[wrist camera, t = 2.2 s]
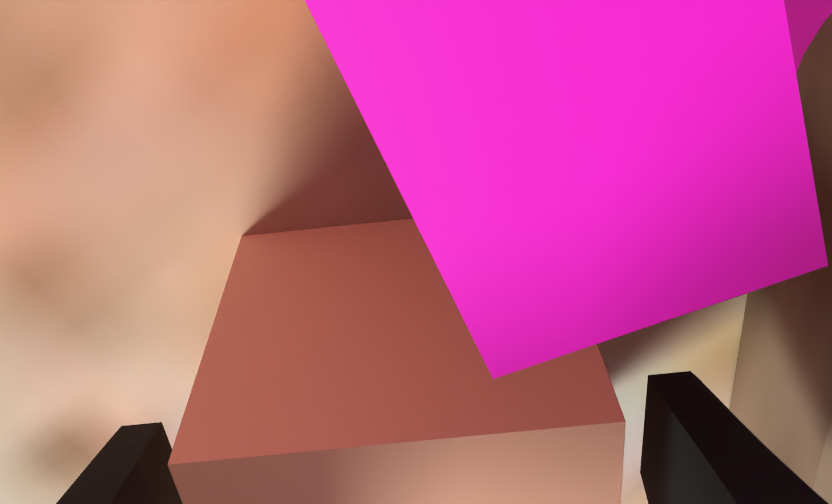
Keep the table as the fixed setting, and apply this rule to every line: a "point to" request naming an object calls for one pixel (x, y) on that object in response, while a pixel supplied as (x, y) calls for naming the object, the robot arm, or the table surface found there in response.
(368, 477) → the terracotta cube
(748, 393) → the taupe block
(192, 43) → the table surface
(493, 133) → the toy block
